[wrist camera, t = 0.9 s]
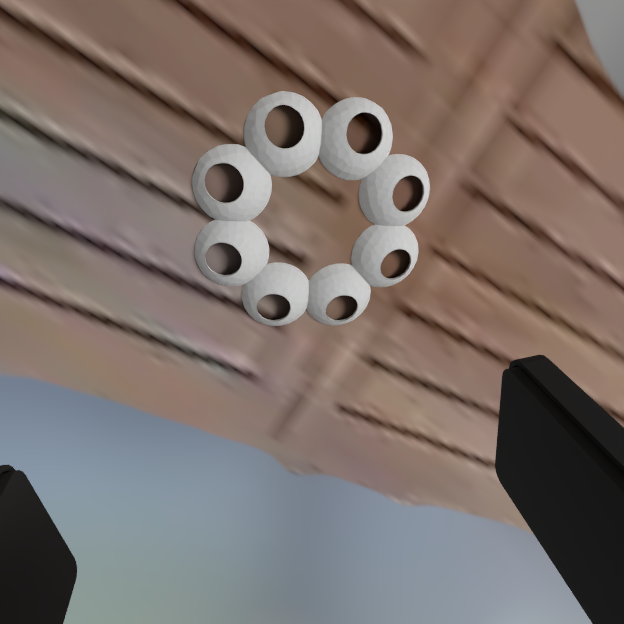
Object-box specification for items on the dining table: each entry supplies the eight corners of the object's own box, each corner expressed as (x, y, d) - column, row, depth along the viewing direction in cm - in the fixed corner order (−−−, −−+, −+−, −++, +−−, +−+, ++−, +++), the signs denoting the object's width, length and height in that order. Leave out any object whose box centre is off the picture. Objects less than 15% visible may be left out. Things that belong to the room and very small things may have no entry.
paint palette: (142, 137, 33) (137, 141, 32) (403, 48, 34) (413, 47, 32) (240, 356, 43) (241, 368, 41) (445, 285, 43) (454, 295, 41)
